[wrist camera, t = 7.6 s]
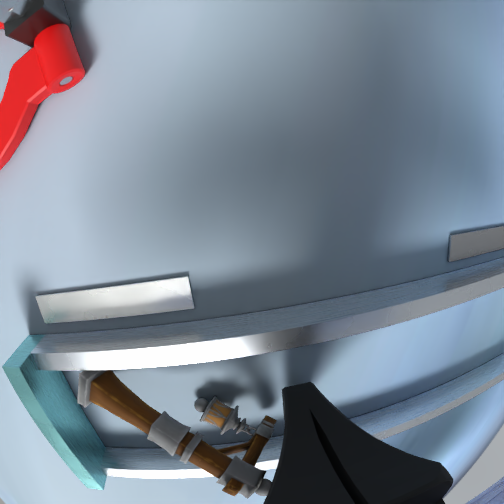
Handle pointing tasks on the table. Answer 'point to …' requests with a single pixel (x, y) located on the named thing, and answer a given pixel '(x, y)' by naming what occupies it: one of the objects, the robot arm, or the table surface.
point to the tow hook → (35, 64)
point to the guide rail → (229, 354)
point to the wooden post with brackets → (186, 432)
